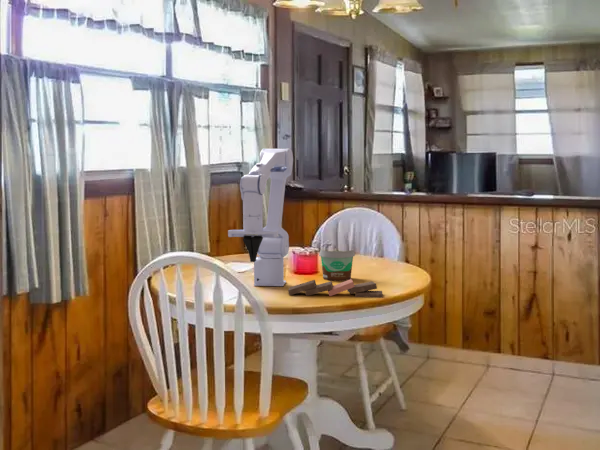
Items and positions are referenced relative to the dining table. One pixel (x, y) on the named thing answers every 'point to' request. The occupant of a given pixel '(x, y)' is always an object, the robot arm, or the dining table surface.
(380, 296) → the domino
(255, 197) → the robot arm
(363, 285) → the domino
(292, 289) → the domino
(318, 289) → the domino
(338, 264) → the food container
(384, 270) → the dining table surface
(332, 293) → the domino
